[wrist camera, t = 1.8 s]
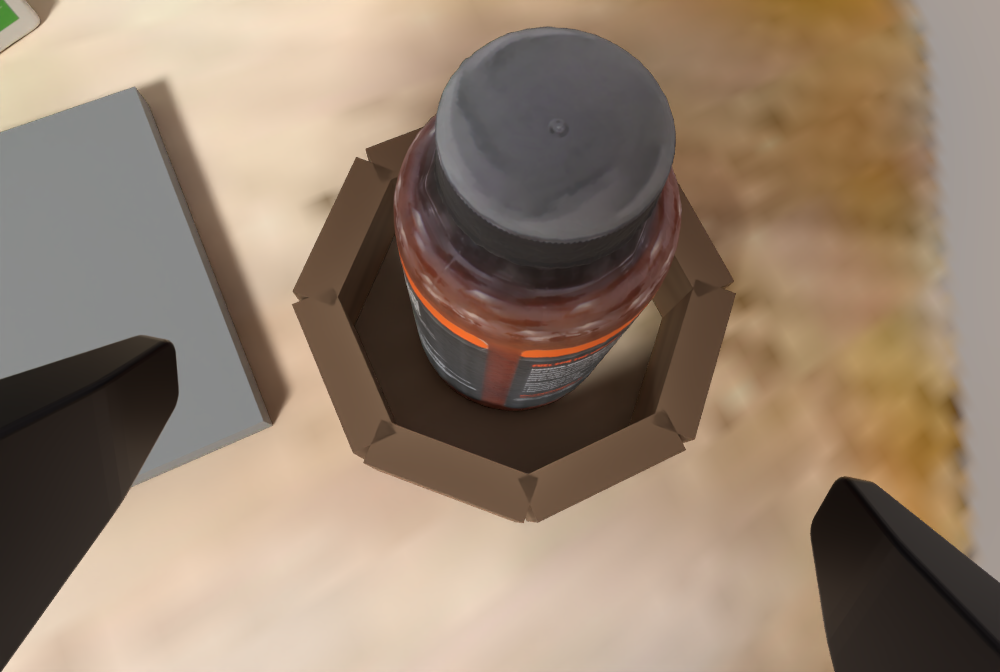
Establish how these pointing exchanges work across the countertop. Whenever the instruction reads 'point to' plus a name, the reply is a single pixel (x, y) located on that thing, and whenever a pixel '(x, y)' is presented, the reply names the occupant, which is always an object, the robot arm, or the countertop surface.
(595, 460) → the collar ring
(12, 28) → the skincare box
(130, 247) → the pad
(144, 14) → the countertop surface
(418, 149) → the supplement bottle
